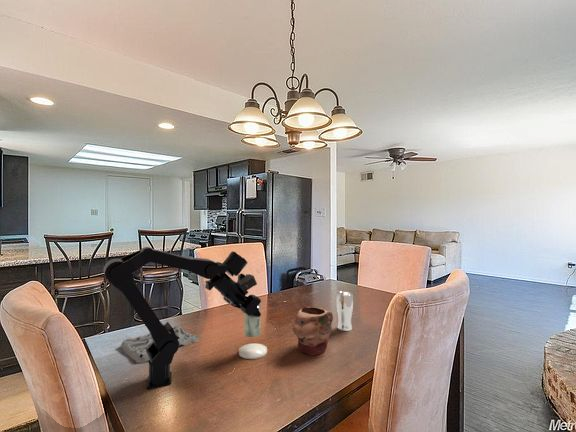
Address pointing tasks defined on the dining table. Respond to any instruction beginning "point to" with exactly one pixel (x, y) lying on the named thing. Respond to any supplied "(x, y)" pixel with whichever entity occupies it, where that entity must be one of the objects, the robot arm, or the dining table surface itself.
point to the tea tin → (252, 325)
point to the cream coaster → (253, 351)
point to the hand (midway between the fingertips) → (256, 313)
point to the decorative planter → (313, 329)
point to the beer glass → (344, 310)
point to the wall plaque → (142, 343)
